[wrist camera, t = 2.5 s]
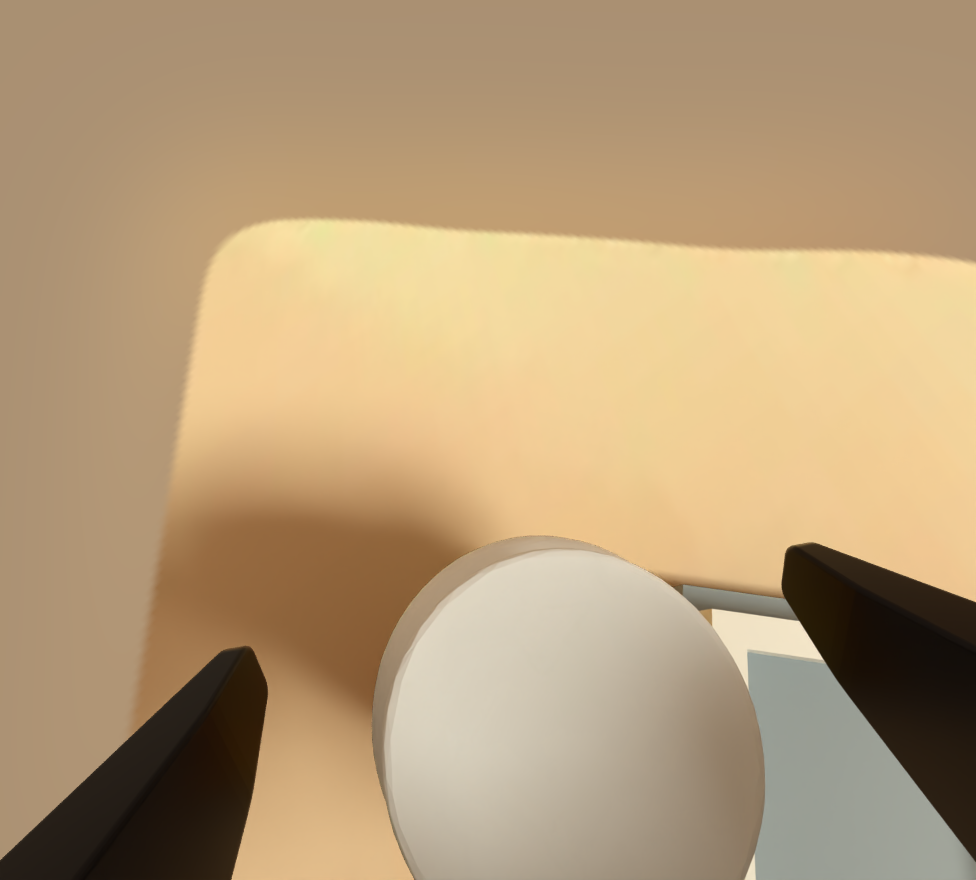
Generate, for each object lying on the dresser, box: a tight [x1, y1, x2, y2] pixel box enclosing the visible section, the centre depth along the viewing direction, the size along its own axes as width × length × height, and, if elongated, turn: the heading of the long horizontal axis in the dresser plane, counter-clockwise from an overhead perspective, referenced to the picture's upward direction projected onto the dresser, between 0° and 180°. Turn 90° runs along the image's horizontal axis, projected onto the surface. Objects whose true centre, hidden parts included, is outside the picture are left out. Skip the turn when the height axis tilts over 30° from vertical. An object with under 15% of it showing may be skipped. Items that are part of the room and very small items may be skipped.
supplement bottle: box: [372, 536, 765, 880], centre depth 10 cm, size 5×5×10 cm
